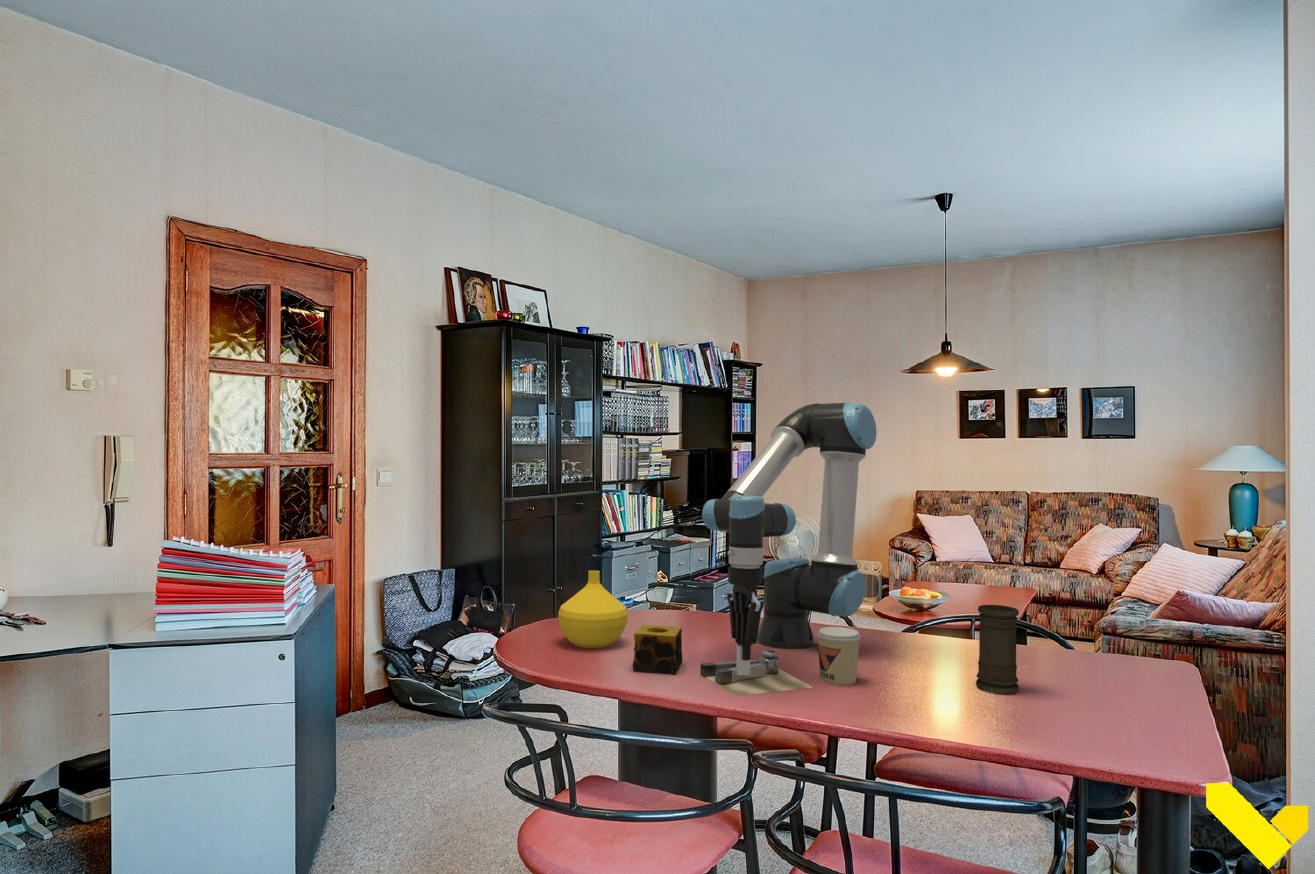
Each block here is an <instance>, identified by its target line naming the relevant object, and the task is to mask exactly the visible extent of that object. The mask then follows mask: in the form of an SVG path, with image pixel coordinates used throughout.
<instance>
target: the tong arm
mask: <svg viewBox="0 0 1315 874" xmlns="http://www.w3.org/2000/svg"><path fill="white" fill-rule="evenodd" d="M761 656H763V657H766V658H774V657H777V654H776V651H775V650H771V649H768V650H767V649H765V650H762V655H761ZM765 675H766V664H763V663H756V664H751V665H750V675H737V674H736V667H734V668H728V669H727V668H725V669H719V670H716V671H715V682H717V683H720V684H724V683H729V682H733V681H738V680H744V679H749V678H754V677H759V676H765Z"/></svg>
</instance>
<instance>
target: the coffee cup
mask: <svg viewBox="0 0 1315 874" xmlns="http://www.w3.org/2000/svg"><path fill="white" fill-rule="evenodd" d="M816 634H817V642H818V643H817V645H818V649H817V651H818V665H819V666H818V667H819V680H820V681H821V682H824V683H826V684H830V685H835V686H836V685H837V686H849V685H854V684H856V682H857V672H858V662H859V653H860V652H859V650H860V639H861V635H860V632H859V631H858V630H856V629H852V628H848V627H840V626H826V627H821V628H819V629H818V632H817V633H816Z"/></svg>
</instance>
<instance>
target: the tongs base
mask: <svg viewBox="0 0 1315 874" xmlns="http://www.w3.org/2000/svg"><path fill="white" fill-rule="evenodd" d="M758 658H759V660H758V659H750V665H751V664H756V663H763V664H766V674H767V675H774V674H778V669H779V663H780V662H779V661H780V660H779V657H777V656H776V657H774V658H766V657H763V656H762V655H761V656H759V657H758ZM734 667H737V660H733V661H721V662H704V663H700V669H699V671H700V674H699V675H700V676H701V677H703V678H707V677H711V676H715V671H716V670H719V669H725V668H727V669H728V668H734Z"/></svg>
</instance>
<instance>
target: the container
mask: <svg viewBox="0 0 1315 874" xmlns="http://www.w3.org/2000/svg"><path fill="white" fill-rule="evenodd" d="M977 612H978V613H979V614H978V616H979V625H978V627H979V630H978V631H979V632H978V633H979V637H978V638H979V639H978V640H979V641H978V643H979V644H978V645H979V651H978V652H979V655H978V661H977V665H978V672H977V674H976V678H977V679H976V681H975V685H976V688H978V689H979V690H981V691H983V690H985V691H984V692H986V691H989V692H988V693H990V692H993V693H992V694H995V693H999V694H998V695H1013V693H1014V694H1017V693H1018V692H1019V689H1020V686H1019V684H1018V682H1019V678H1018V677H1017V669H1018V665H1017V631H1018V627H1017V621H1018V616H1019V615H1020V613H1019V610H1018V609H1017V608H1016V607H1013V606H1008V605H999V604H982V605H978V608H977ZM1016 692H1017V693H1016Z"/></svg>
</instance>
